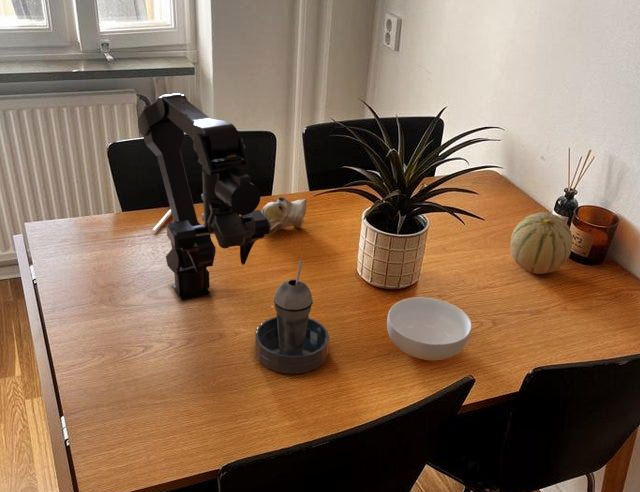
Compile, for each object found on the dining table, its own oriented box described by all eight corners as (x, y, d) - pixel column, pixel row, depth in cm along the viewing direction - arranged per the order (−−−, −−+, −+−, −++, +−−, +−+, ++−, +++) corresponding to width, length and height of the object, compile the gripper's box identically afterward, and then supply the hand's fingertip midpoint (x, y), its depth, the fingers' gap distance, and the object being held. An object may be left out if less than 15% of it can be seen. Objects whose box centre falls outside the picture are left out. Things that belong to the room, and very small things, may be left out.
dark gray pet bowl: (272, 383, 129) (272, 363, 127) (244, 341, 140) (244, 323, 137) (339, 366, 135) (341, 347, 133) (308, 327, 145) (309, 309, 143)
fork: (147, 232, 175) (147, 225, 174) (177, 200, 191) (177, 193, 190) (160, 234, 174) (159, 227, 173) (188, 202, 191) (188, 195, 190)
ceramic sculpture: (314, 201, 176) (257, 211, 171) (314, 232, 181) (259, 243, 176) (298, 185, 184) (243, 194, 179) (299, 215, 189) (245, 225, 184)
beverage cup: (266, 344, 138) (268, 255, 127) (299, 336, 141) (304, 248, 130) (281, 365, 133) (285, 274, 122) (316, 356, 136) (322, 266, 125)
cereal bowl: (444, 384, 133) (450, 354, 129) (368, 352, 140) (372, 322, 136) (479, 343, 145) (485, 314, 142) (408, 315, 152) (412, 287, 148)
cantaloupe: (544, 252, 182) (558, 199, 174) (576, 281, 171) (593, 225, 162) (493, 257, 178) (505, 202, 169) (523, 287, 166) (537, 230, 158)
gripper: (181, 218, 119) (186, 297, 127) (283, 204, 127) (280, 279, 135) (163, 193, 127) (168, 268, 135) (260, 181, 135) (259, 253, 143)
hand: (220, 267), depth 137 cm, fingers open, 9 cm apart
